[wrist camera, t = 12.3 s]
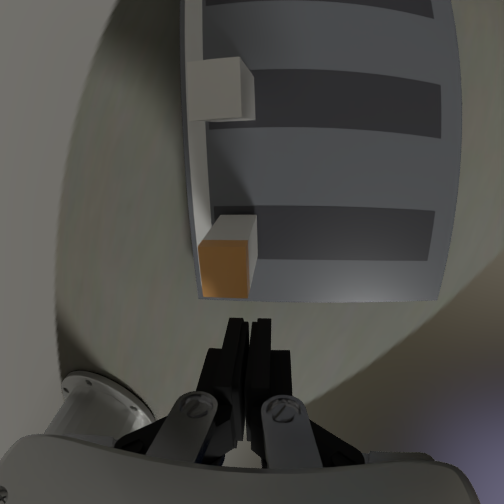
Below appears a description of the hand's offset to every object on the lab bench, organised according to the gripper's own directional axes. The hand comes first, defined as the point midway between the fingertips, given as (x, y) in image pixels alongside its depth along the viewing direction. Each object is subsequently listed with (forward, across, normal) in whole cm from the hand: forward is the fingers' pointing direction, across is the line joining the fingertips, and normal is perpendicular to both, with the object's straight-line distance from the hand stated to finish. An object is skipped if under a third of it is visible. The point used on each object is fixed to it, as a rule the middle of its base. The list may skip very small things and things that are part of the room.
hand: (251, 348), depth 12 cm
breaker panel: (+9, -4, -10) cm, 14 cm away
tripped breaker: (+7, +1, -3) cm, 7 cm away
